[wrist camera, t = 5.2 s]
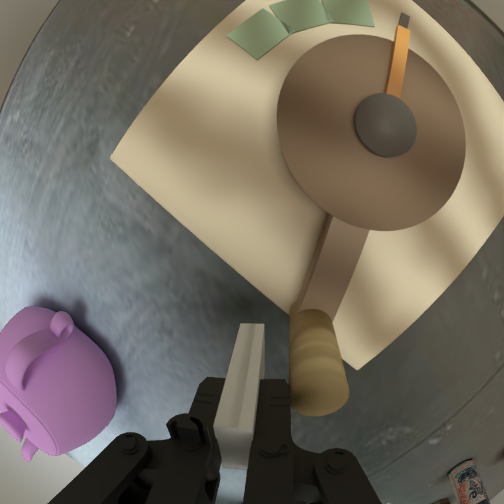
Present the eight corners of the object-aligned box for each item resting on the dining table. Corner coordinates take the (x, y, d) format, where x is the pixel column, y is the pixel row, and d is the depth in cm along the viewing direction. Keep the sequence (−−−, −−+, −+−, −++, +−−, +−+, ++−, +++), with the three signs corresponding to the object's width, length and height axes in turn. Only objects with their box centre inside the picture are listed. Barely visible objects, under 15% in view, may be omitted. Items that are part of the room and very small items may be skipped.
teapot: (36, 257, 20) (-60, 307, 9) (148, 341, 21) (69, 450, 9) (33, 377, 26) (-15, 426, 15) (111, 436, 27) (73, 500, 15)
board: (354, 360, 19) (357, 371, 18) (119, 158, 17) (108, 158, 15) (526, 158, 13) (536, 159, 11) (325, -45, 10) (327, -55, 9)
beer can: (476, 454, 22) (497, 507, 11) (469, 466, 23) (486, 516, 12) (450, 467, 23) (468, 523, 12) (444, 478, 24) (459, 530, 13)
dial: (306, 18, 12) (314, -59, 5) (456, 82, 11) (527, 54, 4) (224, 306, 17) (189, 385, 10) (371, 345, 17) (402, 425, 10)
